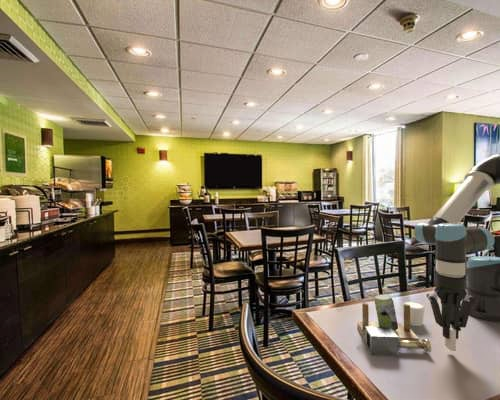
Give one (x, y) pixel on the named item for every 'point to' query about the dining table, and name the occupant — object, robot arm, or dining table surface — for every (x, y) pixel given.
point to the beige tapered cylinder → (416, 313)
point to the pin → (415, 344)
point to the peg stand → (403, 328)
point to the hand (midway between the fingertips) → (450, 348)
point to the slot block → (381, 341)
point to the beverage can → (386, 311)
